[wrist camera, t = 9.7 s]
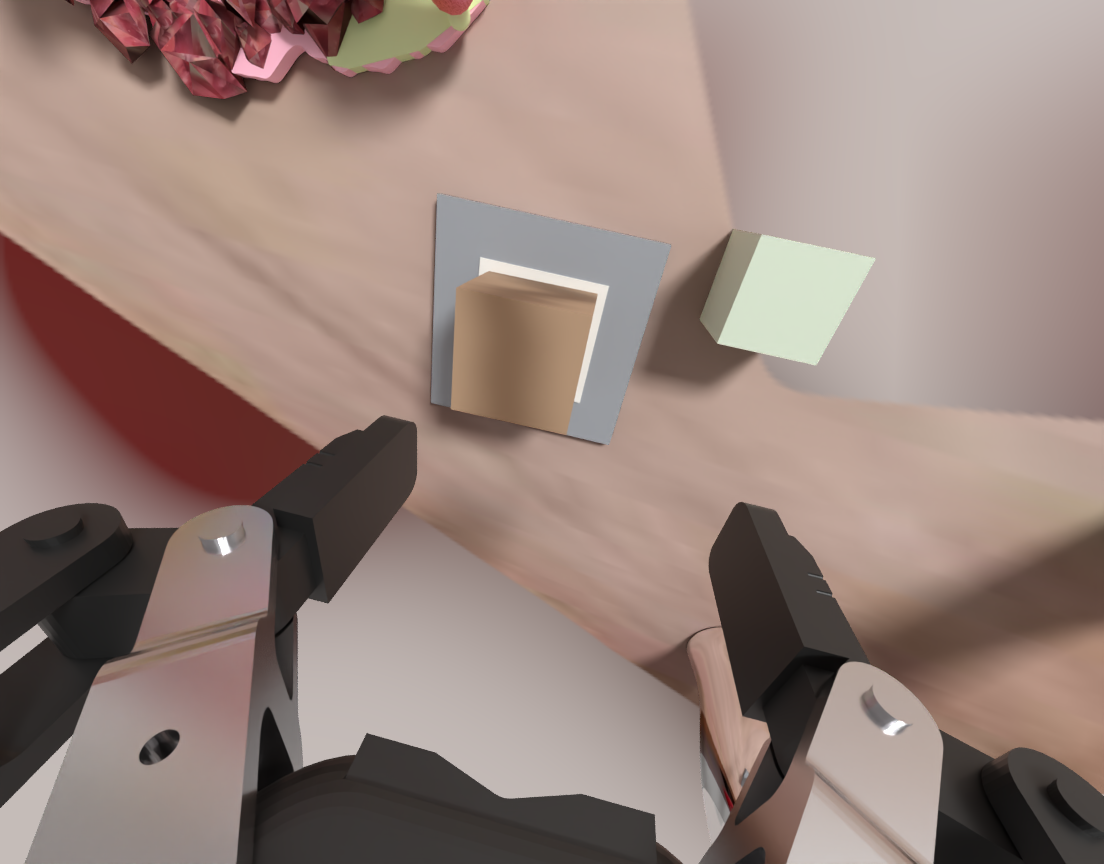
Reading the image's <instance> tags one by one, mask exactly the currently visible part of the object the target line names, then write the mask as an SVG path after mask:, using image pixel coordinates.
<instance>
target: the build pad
mask: <svg viewBox="0 0 1104 864" xmlns="http://www.w3.org/2000/svg"><path fill="white" fill-rule="evenodd" d="M670 248H671V244H667V243H663V242H658V241H654V240H649V239H644V238H640V237H635V236H631V235H626V234H622V233H617V232H613V231H608V230H604V229H599V228H595V227H590V226H586V225H581V224H577V223H572V222H567V221H563V220H558V219H554V218H549V217H545V216H540V215H536V214H531V213H527V212H522V211H518V210H513V209H509V208H504V207H500V206H495V205H491V204H486V203H481V202H477V201H472V200H468V199H463V198H459V197H454V196H450V195H445V194H438V193H437V218H436V250H435V283H434V316H433V348H432V381H431V403H434V404H438V405H442V406H446V407H451V395H452V372H453V348H454V325H455V302H456V287H458V286H460V285H462V284H464V283H466V282H468V281H470V280H472V279H474V278H476V277H478V276H480V275H482V274H484V273H486V272H488V271H491V272H496V273H501V274H506V275H510V276H515V277H520V278H525V279H530V280H534V281H539V282H544V283H549V284H554V285H558V286H563V287H568V288H573V289H578V290H582V291H587V292H592V293H597V294H598V296H597V300H596V305H595V309H594V314H593V318H592V323H591V327H590V332H589V336H588V341H587V345H586V350H585V354H584V359H583V363H582V368H581V372H580V377H579V381H578V385H577V390H576V394H575V399H574V403H573V408H572V412H571V417H570V421H569V426H568V430H567V435H569V436H573V437H577V438H581V439H586V440H590V441H594V442H598V443H602V444H607V445H609V443H610V440H611V437H612V434H613V430H614V427H615V424H616V421H617V418H618V414H619V411H620V408H621V405H622V402H623V398H624V395H625V392H626V389H627V386H628V382H629V379H630V376H631V373H632V370H633V367H634V363H635V360H636V357H637V354H638V351H639V347H640V344H641V341H642V338H643V335H644V331H645V328H646V325H647V322H648V319H649V315H650V312H651V309H652V306H653V303H654V299H655V296H656V293H657V290H658V287H659V283H660V280H661V277H662V274H663V271H664V267H665V264H666V261H667V258H668V255H669V251H670Z"/></svg>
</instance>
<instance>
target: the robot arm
mask: <svg viewBox="0 0 1104 864" xmlns="http://www.w3.org/2000/svg"><path fill="white" fill-rule="evenodd" d="M416 476H417V428H416V425H415V423H414V422H410V421H406V420H402V419H398V418H393V417H389V416H385V415H384V416H381V417H379V418H378V419H377V420H376V421H375V422H373V423H372V424H371V425H370V426H369V427H368V428H366V429H365V430H364V431H361V430H355V431H352V432H350V433H348V434H345V435H343V436H340V437H338V438H336V439H334V440H333V441H332V442H330V443H329V444H328V445H327V446H325V447H324V448H323V449H322V450H320V453H319V454H318V453H317V454H316V455H314V456H313V457H312V458H310V459H309V460H308V461H307V463H306V465H305V464H303V465H302V466H300V467H299V468H298V469H297V470H295V471H294V472H293V473H292V474H290V475H289V476H288V477H286V478H285V479H284V480H283V481H282V482H281V483H279V484H278V485H276V486H275V487H274V488H273V489H272V490H270V491H269V492H268V493H266V494H265V495H264V496H263V497H261V498H260V499H259V500H258V501H256V502H255V503H254V504H253V505H251V506H247V505H237V506H228V507H223V508H218V509H215V510H211V511H209V512H206V513H203V514H201V515H199V516H197V517H195V518H193V519H191V520H190V521H188V522H186V523H185V524H184V525H183V526H181V527H180V528H128V527H127V526H126V524H125V521H124V520H123V518H122V516H121V514H120V512H119V511H118V510H117V509H116V508H114V507H112V506H109V505H105V504H98V503H85V504H75V505H69V506H64V507H59V508H55V509H51V510H48V511H44V512H42V513H39V514H36V515H33V516H31V517H29V518H26V519H24V520H22V521H20V522H18V523H16V524H14V525H12V526H10V527H8V528H6V529H4V530H3V531H1V532H0V651H1V650H3V649H4V648H6V647H7V646H8V645H10V644H11V643H12V642H13V641H15V640H16V639H18V638H19V637H20V636H22V635H23V634H24V633H25V632H27V631H28V630H30V629H31V628H32V627H33V626H35V625H36V624H38V625H39V626H40V628H41V629H42V630H43V631H44V632H45V634H46V635H47V636H48V637H47V638H46V639H45V640H44V641H42V642H41V643H40V644H38V645H37V646H36V647H35V648H33V649H32V650H31V651H30V652H29V653H27V654H26V655H25V656H23V657H22V658H21V659H19V660H18V661H17V662H16V663H14V664H13V665H12V666H11V667H9V668H8V669H7V670H6V671H4V672H3V673H2V674H0V808H1V807H2V806H3V805H4V804H5V803H6V802H7V801H8V800H9V799H10V798H11V797H12V796H13V795H14V794H15V793H16V791H18V790H19V789H20V788H21V787H22V786H23V785H24V784H25V783H26V782H27V780H28V779H29V778H30V777H31V776H32V775H33V774H34V773H35V772H36V771H37V770H38V769H39V768H40V767H41V766H42V765H43V764H44V763H45V762H46V761H47V760H48V759H49V758H50V757H51V756H52V755H53V754H54V753H55V752H56V751H57V750H58V749H59V748H60V747H61V746H62V745H63V744H64V743H65V742H66V741H67V740H68V739H69V738H70V737H71V736H72V735H73V736H72V739H71V742H70V744H69V747H68V749H67V752H66V755H65V757H64V760H63V763H62V766H61V768H60V771H59V774H58V776H57V779H56V781H55V784H54V787H53V789H52V792H51V795H50V797H49V800H48V803H47V805H46V808H45V811H44V814H43V816H42V819H41V822H40V824H39V827H38V829H37V832H36V835H35V837H34V840H33V843H32V845H31V848H30V850H29V853H28V856H27V858H26V861H25V864H682V862H680V860H678V859H677V858H676V857H675V856H674V855H673V854H671V853H670V852H669V851H668V850H667V849H666V848H664V847H663V846H662V845H660V844H659V843H657V842H656V834H655V815H654V814H650V813H647V812H643V811H640V810H636V809H633V808H629V807H626V806H622V805H619V804H615V803H611V802H608V801H604V800H600V799H597V798H594V797H590V796H587V795H583V794H576V795H561V796H545V797H530V798H515V799H507V798H502V797H499V796H498V795H496V794H494V793H493V792H491V791H490V790H488V789H487V788H486V787H484V786H482V785H481V784H480V783H478V782H477V781H475V780H474V779H472V778H471V777H470V776H468V775H467V774H465V773H464V772H463V771H461V770H460V769H458V768H457V767H455V766H454V765H453V764H451V763H450V762H448V761H447V760H445V759H444V758H442V757H441V756H440V755H438V754H437V753H435V752H431V751H428V750H424V749H421V748H417V747H413V746H410V745H407V744H403V743H399V742H396V741H392V740H389V739H385V738H382V737H378V736H375V735H371V734H368V733H367V734H366V736H365V738H364V740H363V742H362V744H361V746H360V748H359V750H358V752H357V754H356V755H348V756H342V757H337V758H333V759H328V760H324V761H321V762H318V763H315V764H312V765H309V766H306V767H303V756H302V742H301V733H300V726H299V718H298V619H297V613H296V612H297V611H298V610H299V608H300V607H301V606H302V605H303V604H304V602H305V601H306V600H307V599H308V598H309V599H313V600H317V601H321V602H324V603H329V602H330V601H331V599H332V598H333V597H334V595H335V594H336V592H337V591H338V590H339V588H340V587H341V586H342V585H343V583H344V582H345V581H346V579H347V578H348V576H349V575H350V574H351V572H352V571H353V570H354V569H355V567H356V566H357V565H358V563H359V562H360V561H361V559H362V558H363V557H364V555H365V554H366V552H367V551H368V550H369V548H370V547H371V546H372V545H373V543H374V542H375V540H376V539H377V538H378V537H379V535H380V534H381V533H382V531H383V530H384V528H385V527H386V526H387V524H388V523H389V522H390V520H391V519H392V518H393V516H394V515H395V514H396V513H397V511H398V510H399V509H400V507H401V506H402V505H403V503H404V502H405V501H406V499H407V498H408V497H409V495H410V493H411V492H412V490H413V487H414V484H415V481H416ZM709 573H710V578H711V582H712V586H713V591H714V595H715V599H716V604H717V608H718V612H719V617H720V621H721V625H722V630H723V634H724V638H725V643H726V647H727V651H728V656H729V660H730V664H731V669H732V673H733V678H734V682H735V686H736V691H737V695H738V699H739V704H740V708H741V712H742V716H743V717H747V718H751V719H755V720H758V721H762V722H766V723H767V726H768V730H769V733H770V737H769V738H768V739H767V740H766V741H765V742H764V744H763V745H762V747H761V750H760V752H759V754H758V756H757V758H756V760H755V762H754V764H753V766H752V768H751V770H750V773H749V775H748V777H747V779H746V781H745V783H744V785H743V787H742V789H741V791H740V793H739V796H738V798H737V800H736V802H735V804H734V806H733V808H732V810H731V812H730V814H729V816H728V819H727V821H726V823H725V825H724V827H723V829H722V830H721V832H720V834H719V835H718V837H717V838H716V840H715V841H714V843H713V844H712V845H711V847H710V848H709V849H708V851H707V852H706V853H705V855H704V856H703V858H702V859H701V861H700V863H699V864H1104V796H1103V795H1102V794H1101V793H1100V792H1098V791H1097V790H1096V789H1095V788H1094V787H1093V786H1091V785H1090V784H1089V783H1088V782H1087V781H1085V780H1084V779H1083V778H1082V777H1080V776H1079V775H1078V774H1076V773H1075V772H1074V771H1072V770H1071V769H1069V768H1068V767H1066V766H1065V765H1063V764H1062V763H1060V762H1058V761H1056V760H1055V759H1053V758H1051V757H1049V756H1047V755H1045V754H1043V753H1041V752H1038V751H1035V750H1032V749H1028V748H1015V749H1012V750H1011V751H1009V752H1007V753H1005V754H1003V755H1002V756H1000V757H998V758H996V759H993V758H992V757H990V756H988V755H986V754H984V753H982V752H980V751H978V750H977V749H975V748H973V747H971V746H969V745H967V744H965V743H964V742H962V741H960V740H958V739H956V738H954V737H952V736H951V735H949V734H947V733H945V732H943V731H941V730H939V729H938V727H937V725H936V723H935V721H934V720H933V718H932V716H931V715H930V714H929V712H928V711H927V709H926V708H925V707H924V706H923V704H922V703H921V702H920V701H919V700H918V699H917V698H916V697H915V696H914V695H913V694H912V692H910V691H909V690H908V689H907V688H906V687H905V686H904V685H903V684H901V683H900V682H899V681H897V680H896V679H895V678H893V677H892V676H890V675H889V674H887V673H886V672H884V671H882V670H880V669H878V668H876V667H874V666H872V665H871V664H870V662H869V661H868V659H867V657H866V655H865V653H864V651H863V649H862V647H861V646H860V644H859V642H858V640H857V638H856V636H855V634H854V633H853V631H852V629H851V627H850V625H849V623H848V621H847V620H846V618H845V616H844V614H843V612H842V610H841V608H840V607H839V605H838V603H837V601H836V599H835V598H833V597H832V592H831V590H830V588H829V586H828V584H827V582H826V581H825V580H823V575H822V573H821V571H820V569H819V567H818V566H817V564H816V562H815V560H814V558H813V556H812V555H811V554H810V553H809V552H808V551H807V550H806V549H805V548H804V547H803V546H802V545H801V544H800V542H799V541H798V540H797V539H796V538H795V537H793V536H789V535H788V533H787V531H786V529H785V527H784V525H783V523H782V521H781V519H780V517H779V515H778V514H777V512H776V511H775V510H772V509H768V508H764V507H760V506H756V505H752V504H747V503H743V502H739V503H738V504H736V506H735V507H734V508H733V510H732V512H731V514H730V515H729V517H728V519H727V521H726V523H725V525H724V526H723V528H722V530H721V532H720V534H719V535H718V537H717V539H716V541H715V543H714V545H713V547H712V549H711V552H710V557H709Z"/></svg>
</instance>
